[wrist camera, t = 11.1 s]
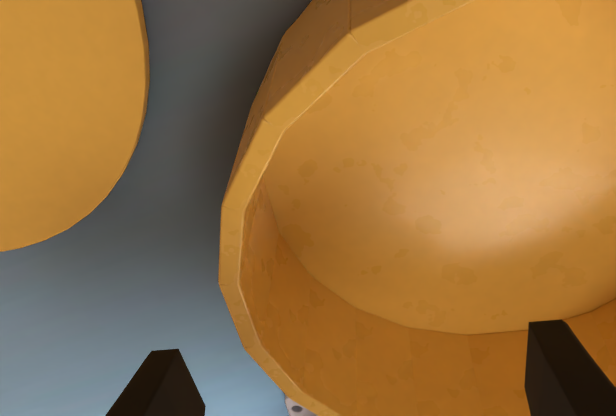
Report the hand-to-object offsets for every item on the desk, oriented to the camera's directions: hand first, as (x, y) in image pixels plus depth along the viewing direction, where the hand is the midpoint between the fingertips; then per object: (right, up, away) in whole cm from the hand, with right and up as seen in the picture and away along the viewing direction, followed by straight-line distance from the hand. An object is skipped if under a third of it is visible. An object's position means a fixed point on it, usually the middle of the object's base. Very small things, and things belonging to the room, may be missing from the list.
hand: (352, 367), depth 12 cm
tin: (+6, +5, +8) cm, 11 cm away
